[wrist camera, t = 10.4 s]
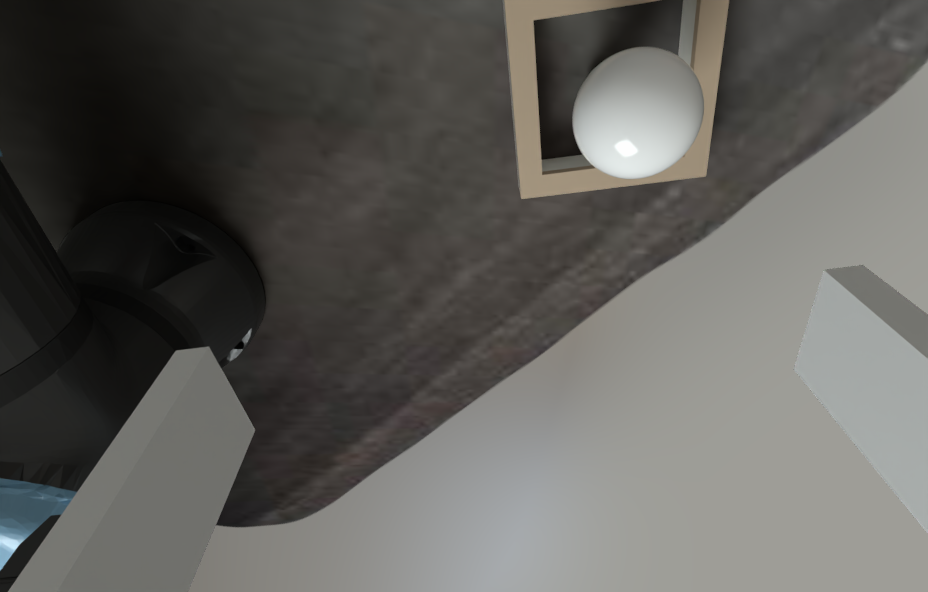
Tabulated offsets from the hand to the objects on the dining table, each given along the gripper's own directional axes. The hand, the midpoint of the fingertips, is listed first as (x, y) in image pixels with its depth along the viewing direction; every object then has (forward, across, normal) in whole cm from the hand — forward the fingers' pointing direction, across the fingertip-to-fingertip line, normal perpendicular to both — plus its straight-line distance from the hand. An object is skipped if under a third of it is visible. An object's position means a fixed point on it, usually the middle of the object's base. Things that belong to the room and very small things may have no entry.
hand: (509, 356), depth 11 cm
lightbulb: (+26, +8, -1) cm, 27 cm away
